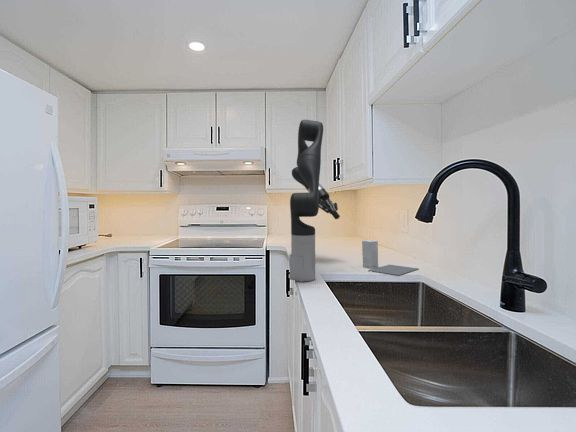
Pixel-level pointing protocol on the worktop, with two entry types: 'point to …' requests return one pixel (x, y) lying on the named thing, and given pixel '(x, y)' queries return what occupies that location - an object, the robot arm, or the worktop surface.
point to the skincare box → (370, 253)
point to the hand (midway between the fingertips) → (337, 217)
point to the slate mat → (393, 270)
